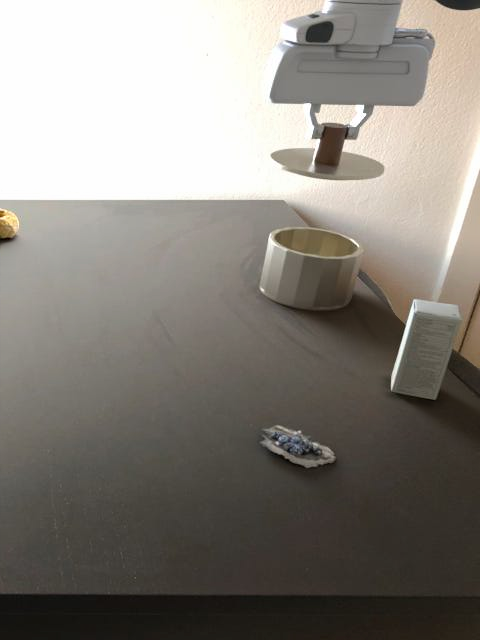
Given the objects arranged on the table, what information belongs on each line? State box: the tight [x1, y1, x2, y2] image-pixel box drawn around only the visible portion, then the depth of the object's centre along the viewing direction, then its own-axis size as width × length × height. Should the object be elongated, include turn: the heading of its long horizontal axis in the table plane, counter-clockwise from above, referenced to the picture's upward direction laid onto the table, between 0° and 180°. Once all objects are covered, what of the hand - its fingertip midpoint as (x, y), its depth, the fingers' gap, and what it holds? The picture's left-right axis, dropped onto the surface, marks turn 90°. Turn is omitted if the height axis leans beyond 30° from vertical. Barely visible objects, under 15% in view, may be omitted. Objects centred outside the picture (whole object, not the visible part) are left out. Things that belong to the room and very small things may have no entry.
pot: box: [259, 226, 365, 312], centre depth 116 cm, size 14×14×8 cm
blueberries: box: [259, 425, 337, 469], centre depth 80 cm, size 7×8×2 cm
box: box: [390, 298, 463, 401], centre depth 90 cm, size 5×4×11 cm
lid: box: [268, 122, 386, 181], centre depth 101 cm, size 15×15×6 cm
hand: (330, 138), depth 100 cm, fingers closed on lid, 3 cm apart
